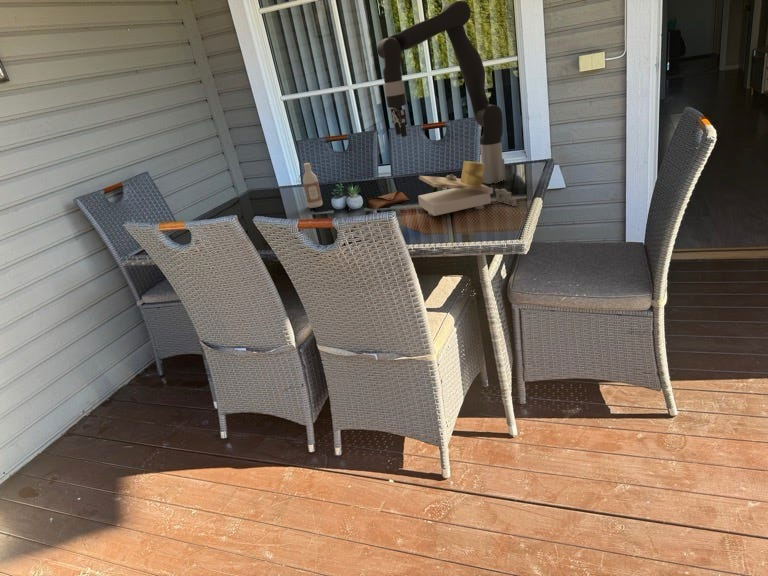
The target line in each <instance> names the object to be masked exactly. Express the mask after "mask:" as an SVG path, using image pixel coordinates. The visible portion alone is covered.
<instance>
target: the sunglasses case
mask: <svg viewBox="0 0 768 576" xmlns="http://www.w3.org/2000/svg"><path fill="white" fill-rule="evenodd" d="M407 200H409V201H411V199H409V198H408V197H407V195H405V194H404V193H403V191H402V190H397V191H395V192H391V193H387V194H384V195H380V196H375V197H371V198H368V199H367V201H366V206H367V208H370V209H373V210H376V211H377V210H379V208H380V209H382V207H383V208H387V207H390V206H392V205H393V204H394V205H397V204H400V202H401V203H404V202H403V201H405V202H408V201H407ZM396 203H397V204H396ZM389 205H390V206H389ZM394 205H393V206H394Z"/></svg>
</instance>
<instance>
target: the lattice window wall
mask: <svg viewBox="0 0 768 576" xmlns="http://www.w3.org/2000/svg"><path fill="white" fill-rule="evenodd" d="M494 191H495V200H496V201H498V202H497V203H499V202H503V201H504V203H506V204H509V205H512V206H514V205H516V206H517V199H516V198H513V197H512V192H511V191H508V190H507V189H506V188H500V189H499V188H495V189H494ZM496 201H495V202H496ZM509 205H508V206H509ZM512 206H511V207H512Z"/></svg>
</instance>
